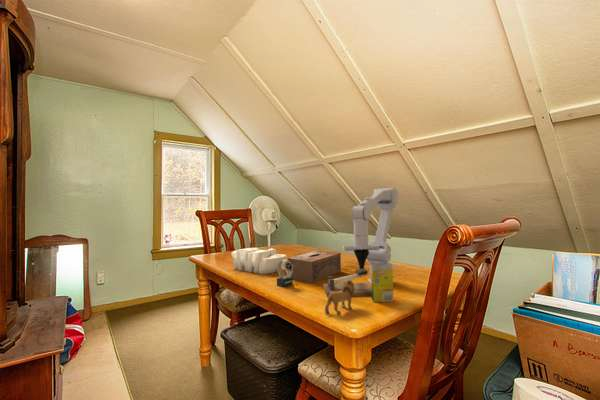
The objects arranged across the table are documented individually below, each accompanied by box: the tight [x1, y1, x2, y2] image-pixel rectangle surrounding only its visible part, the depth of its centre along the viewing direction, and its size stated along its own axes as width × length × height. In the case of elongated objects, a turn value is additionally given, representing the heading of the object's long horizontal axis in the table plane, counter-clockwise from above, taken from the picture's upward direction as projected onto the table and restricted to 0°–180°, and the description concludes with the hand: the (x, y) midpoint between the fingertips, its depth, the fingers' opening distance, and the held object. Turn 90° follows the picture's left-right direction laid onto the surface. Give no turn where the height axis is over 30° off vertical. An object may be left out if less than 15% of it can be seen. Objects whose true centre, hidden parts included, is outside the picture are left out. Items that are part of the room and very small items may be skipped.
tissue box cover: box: [286, 250, 342, 284], centre depth 141 cm, size 26×14×10 cm, turn 141°
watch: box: [276, 259, 294, 288], centre depth 124 cm, size 6×8×11 cm
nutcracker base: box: [322, 275, 372, 298], centre depth 114 cm, size 19×12×6 cm, turn 92°
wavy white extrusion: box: [230, 247, 288, 275], centre depth 156 cm, size 35×16×11 cm, turn 54°
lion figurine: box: [324, 279, 354, 316], centre depth 95 cm, size 15×5×9 cm, turn 138°
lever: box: [327, 267, 369, 284], centre depth 114 cm, size 16×5×6 cm, turn 92°
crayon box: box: [371, 270, 395, 303], centre depth 103 cm, size 7×3×12 cm, turn 91°
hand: (361, 268), depth 115 cm, fingers closed
